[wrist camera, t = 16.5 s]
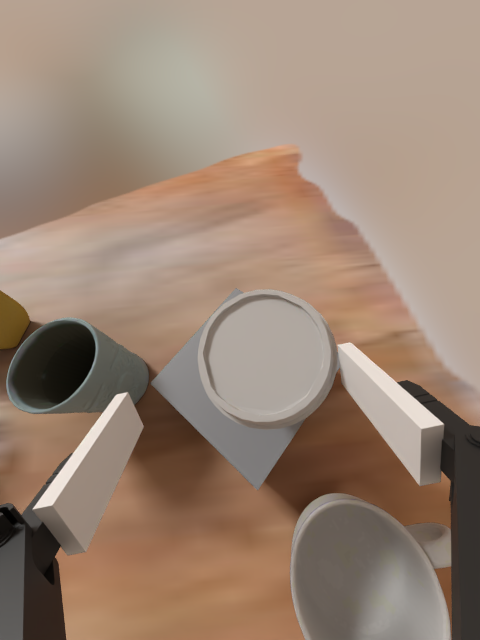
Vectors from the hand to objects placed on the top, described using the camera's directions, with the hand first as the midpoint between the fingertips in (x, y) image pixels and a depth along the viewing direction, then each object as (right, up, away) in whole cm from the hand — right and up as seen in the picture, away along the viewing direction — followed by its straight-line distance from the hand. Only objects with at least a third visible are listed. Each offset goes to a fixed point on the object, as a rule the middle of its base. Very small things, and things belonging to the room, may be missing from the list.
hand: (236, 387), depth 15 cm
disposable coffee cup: (+5, -2, +12) cm, 13 cm away
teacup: (+12, -19, +10) cm, 24 cm away
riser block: (+2, -4, +18) cm, 18 cm away
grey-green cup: (-17, -5, +21) cm, 27 cm away
